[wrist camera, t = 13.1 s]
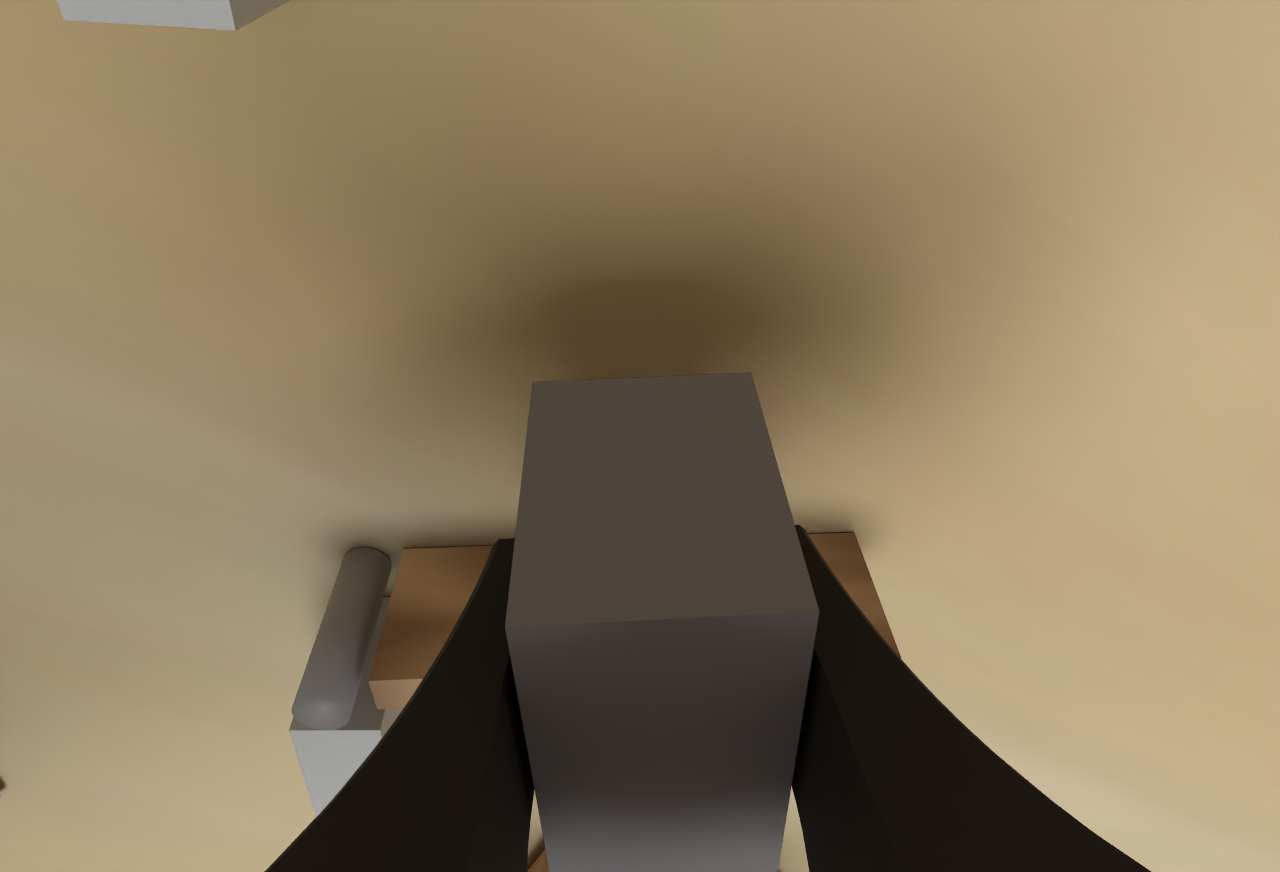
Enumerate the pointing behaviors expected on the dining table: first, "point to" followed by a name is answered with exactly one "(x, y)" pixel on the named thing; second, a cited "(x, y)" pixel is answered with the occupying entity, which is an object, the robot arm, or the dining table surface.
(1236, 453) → the dining table surface
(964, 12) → the dining table surface
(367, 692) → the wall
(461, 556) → the door
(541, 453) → the grey rectangular block
